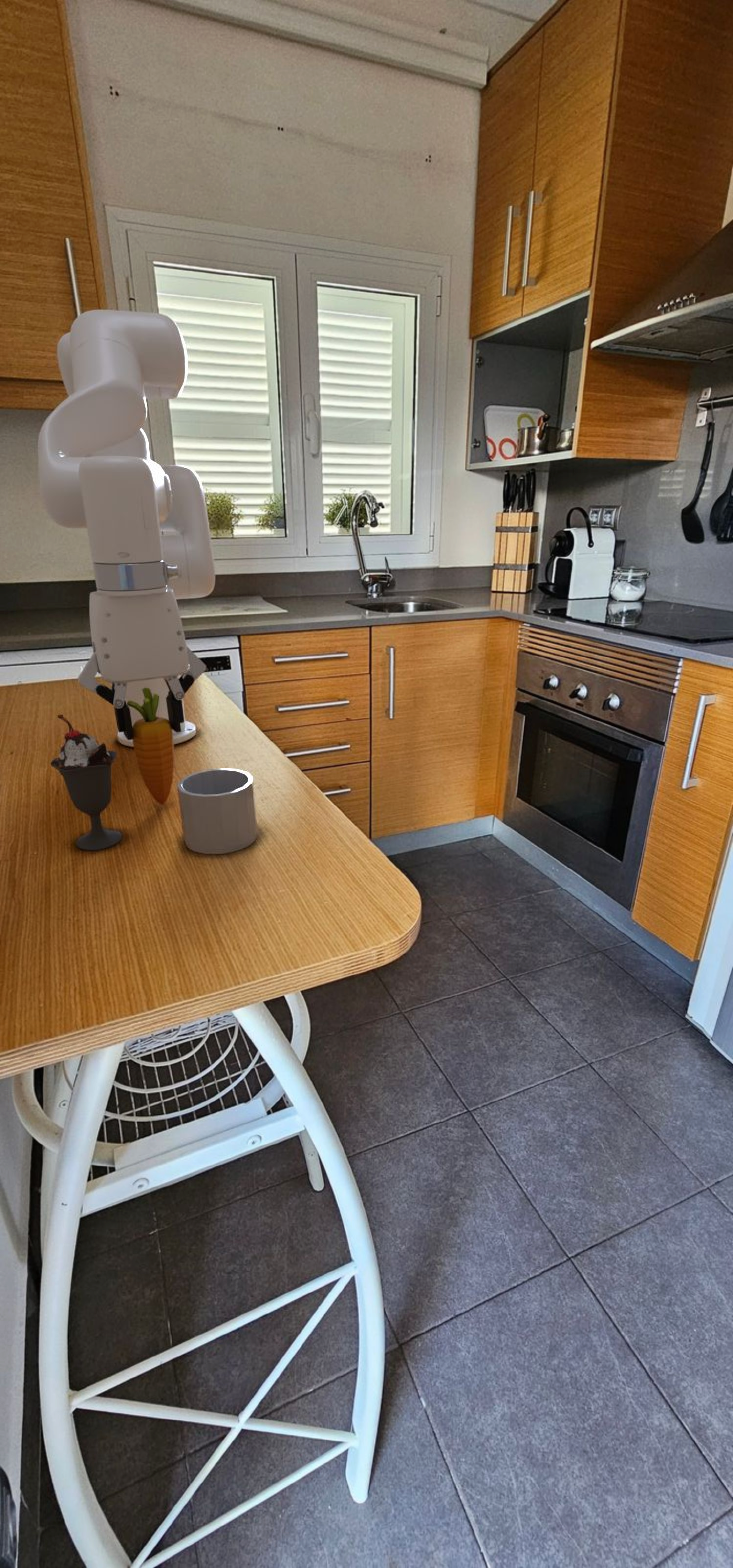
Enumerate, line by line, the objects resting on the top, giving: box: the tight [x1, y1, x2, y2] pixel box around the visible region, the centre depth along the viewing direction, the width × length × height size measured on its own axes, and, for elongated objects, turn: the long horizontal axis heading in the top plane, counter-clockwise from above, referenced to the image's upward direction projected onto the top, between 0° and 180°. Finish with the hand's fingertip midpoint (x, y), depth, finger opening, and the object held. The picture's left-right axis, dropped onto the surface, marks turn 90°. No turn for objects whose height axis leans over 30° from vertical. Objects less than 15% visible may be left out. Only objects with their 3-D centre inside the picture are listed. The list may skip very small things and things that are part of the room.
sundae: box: [50, 714, 123, 851], centre depth 75 cm, size 7×7×15 cm
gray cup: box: [176, 767, 258, 855], centre depth 77 cm, size 8×8×7 cm
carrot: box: [127, 688, 175, 806], centre depth 84 cm, size 5×5×15 cm
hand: (152, 731), depth 83 cm, fingers closed on carrot, 5 cm apart
